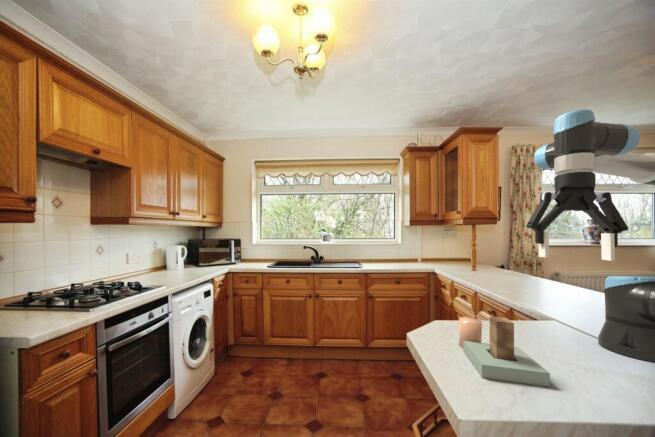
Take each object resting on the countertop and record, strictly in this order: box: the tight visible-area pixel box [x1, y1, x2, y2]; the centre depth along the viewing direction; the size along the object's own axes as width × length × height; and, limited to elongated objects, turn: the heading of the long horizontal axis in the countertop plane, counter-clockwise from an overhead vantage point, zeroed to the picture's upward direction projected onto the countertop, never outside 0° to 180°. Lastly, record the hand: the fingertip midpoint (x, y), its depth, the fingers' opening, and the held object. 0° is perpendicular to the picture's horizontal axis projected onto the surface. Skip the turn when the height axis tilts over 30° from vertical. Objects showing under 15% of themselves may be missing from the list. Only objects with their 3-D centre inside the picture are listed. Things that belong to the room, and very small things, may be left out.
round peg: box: [458, 316, 483, 350], centre depth 79 cm, size 6×6×8 cm
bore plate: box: [463, 341, 551, 388], centre depth 67 cm, size 14×14×3 cm
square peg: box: [489, 316, 515, 361], centre depth 68 cm, size 4×4×12 cm
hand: (575, 258), depth 65 cm, fingers open, 13 cm apart
